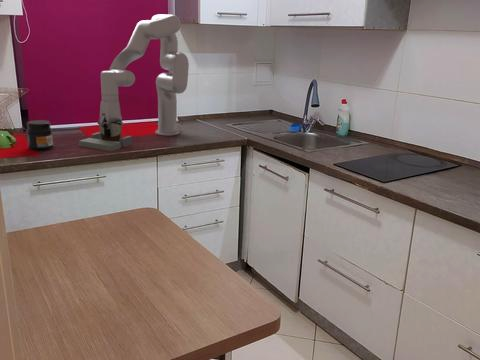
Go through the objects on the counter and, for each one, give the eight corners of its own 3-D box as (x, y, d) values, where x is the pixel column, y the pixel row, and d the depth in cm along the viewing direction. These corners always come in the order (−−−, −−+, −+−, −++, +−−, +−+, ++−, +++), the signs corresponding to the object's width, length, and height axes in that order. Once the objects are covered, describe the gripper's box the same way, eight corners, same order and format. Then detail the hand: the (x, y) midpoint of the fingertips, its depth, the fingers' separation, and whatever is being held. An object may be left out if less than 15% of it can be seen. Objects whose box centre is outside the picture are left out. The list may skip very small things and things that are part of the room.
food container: (128, 139, 231) (127, 119, 228) (123, 142, 225) (122, 121, 222) (104, 137, 232) (102, 117, 229) (98, 140, 227) (97, 119, 223)
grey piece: (101, 139, 235) (101, 131, 234) (132, 144, 228) (131, 136, 227) (79, 145, 221) (78, 137, 220) (111, 151, 214) (110, 142, 213)
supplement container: (55, 149, 213) (53, 123, 209) (30, 152, 208) (28, 125, 204) (50, 144, 221) (48, 119, 218) (26, 146, 216) (23, 120, 212)
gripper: (115, 95, 231) (117, 131, 236) (91, 99, 216) (93, 138, 221) (128, 96, 228) (129, 133, 233) (104, 101, 213) (106, 140, 218)
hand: (111, 135), depth 227 cm, fingers closed on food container, 5 cm apart
